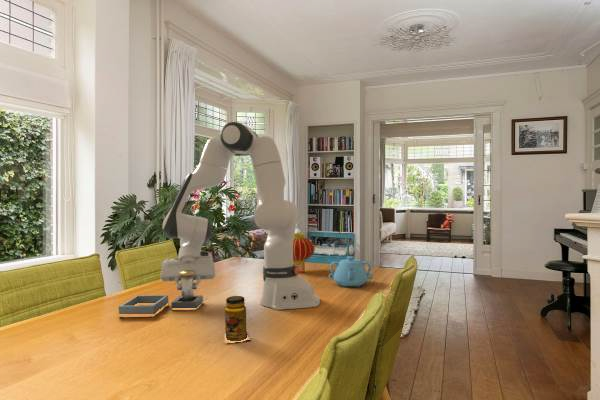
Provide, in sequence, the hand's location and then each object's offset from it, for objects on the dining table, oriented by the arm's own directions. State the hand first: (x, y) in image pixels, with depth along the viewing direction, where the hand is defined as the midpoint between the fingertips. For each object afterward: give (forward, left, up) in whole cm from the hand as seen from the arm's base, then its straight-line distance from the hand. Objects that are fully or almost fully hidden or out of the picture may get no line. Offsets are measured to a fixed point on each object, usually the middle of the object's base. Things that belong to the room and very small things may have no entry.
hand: (187, 288), depth 143 cm
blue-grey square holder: (0, -1, -7) cm, 7 cm away
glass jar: (0, -1, -7) cm, 7 cm away
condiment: (-24, +30, -7) cm, 39 cm away
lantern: (-40, -60, -7) cm, 72 cm away
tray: (+14, +4, -7) cm, 16 cm away
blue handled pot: (-64, -30, -7) cm, 71 cm away
